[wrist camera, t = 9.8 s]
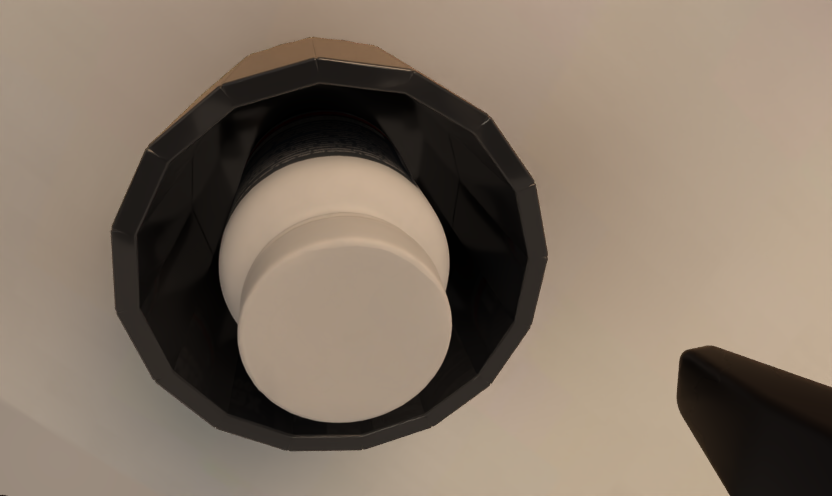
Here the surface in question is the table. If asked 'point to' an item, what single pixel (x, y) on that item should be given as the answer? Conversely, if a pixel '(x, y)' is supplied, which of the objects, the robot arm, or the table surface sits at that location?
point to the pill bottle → (335, 271)
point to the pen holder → (212, 200)
